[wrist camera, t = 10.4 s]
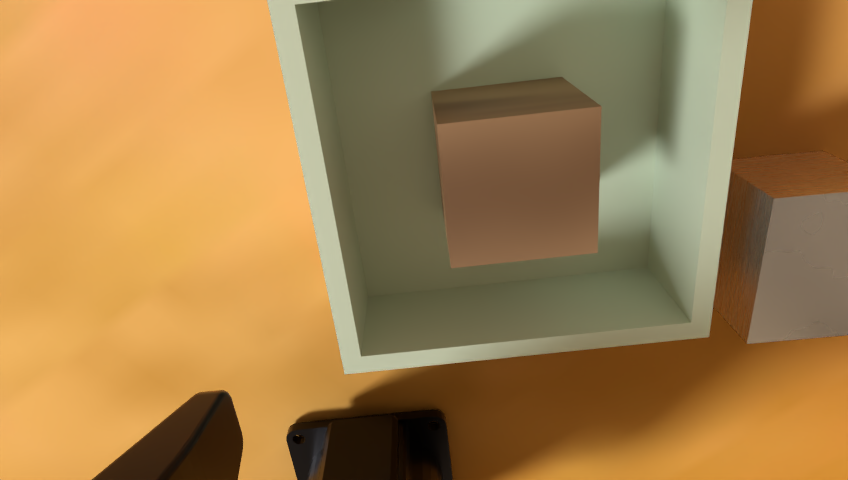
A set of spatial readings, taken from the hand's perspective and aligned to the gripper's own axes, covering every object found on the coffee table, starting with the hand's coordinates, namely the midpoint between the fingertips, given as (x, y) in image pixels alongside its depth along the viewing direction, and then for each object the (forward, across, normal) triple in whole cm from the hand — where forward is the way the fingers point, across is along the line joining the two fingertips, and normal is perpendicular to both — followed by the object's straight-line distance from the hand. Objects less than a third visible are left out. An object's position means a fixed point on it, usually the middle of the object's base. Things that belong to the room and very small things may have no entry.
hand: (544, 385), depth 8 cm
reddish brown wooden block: (+12, -10, +4) cm, 16 cm away
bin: (+12, -1, 0) cm, 12 cm away
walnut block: (+11, -1, 0) cm, 11 cm away
